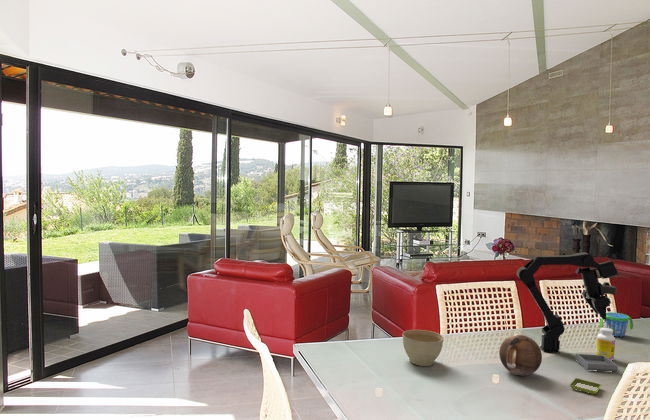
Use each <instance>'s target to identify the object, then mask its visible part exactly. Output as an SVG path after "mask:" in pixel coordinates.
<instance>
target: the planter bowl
mask: <svg viewBox="0 0 650 420" xmlns="http://www.w3.org/2000/svg"><path fill="white" fill-rule="evenodd" d="M402 344H403V349H404V352H405V354H406V355H407V357H408V359H409V362H410V363H412V364H413V365H416V366H421V367H429V366H433V365H434V363H435V361H436V359H438V357H439V355H440V354H441V352H442V349H443V344H444V336H443V335H442V334H440V333H438V332H435V331H431V330H426V329H424V330H423V329H409V330H405V331H403V332H402Z"/></svg>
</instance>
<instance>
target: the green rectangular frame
mask: <svg viewBox="0 0 650 420" xmlns="http://www.w3.org/2000/svg"><path fill="white" fill-rule="evenodd" d="M577 383H581V384H585V385H589V386H593V387H597V388H598V389H597V390H596V391H593V390H589V389H585V388H581V387H577V386H575V385H576V384H577ZM569 385H570V387H571V389H573V390H574V389H577V390H576V391H578V390H581V391H580V392H582V391H585V392H589V393H592V394H591V395H593V394H594V395H596V394H597V393H598V392H599V390H600V389H601V387H602V384H601V383H598V382H593V381H589V380H585V379H582V378H577V377H575V378H574V379H573V380H572V381H571V382H570V384H569ZM585 392H584V393H585ZM589 393H588V394H589Z"/></svg>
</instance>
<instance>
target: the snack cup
mask: <svg viewBox="0 0 650 420" xmlns="http://www.w3.org/2000/svg"><path fill="white" fill-rule="evenodd" d="M599 320H600V321H599V329H600V328H604V324H603V323H604V320H603V319H602V317H600V319H599ZM628 323H629V325H628ZM605 328H609V329H612V330H613V334H612V335H614V336H620V337H619V338H623V337H622V336H624V337H625V336H626V332H627V328H629V330H633V329H634V321H633V319H632V317H630V316H629V315H628V314H624V313H619V312H606V319H605Z"/></svg>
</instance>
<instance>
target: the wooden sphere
mask: <svg viewBox="0 0 650 420" xmlns="http://www.w3.org/2000/svg"><path fill="white" fill-rule="evenodd" d="M498 353H499V359H500V362H501V365H503V367H504V369H506V370H507V371H508V372H510V373H511V374H513V375H516V376H520V377H523V376H524V377H526V376H529V375H530V376H531V375H533V374H534V373H536V371H537V370H539V368H540V366H541V364H542V359H543V354H542V349H541V348H540V346H539V345H538V342H536V341H535V340H534V339H533V338H531V337H530V336H527V335H525V334H512V335H509V336H508V337H507V338H505V339H504V340H503V341H502V343H501V344H500V347H499V351H498Z"/></svg>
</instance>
